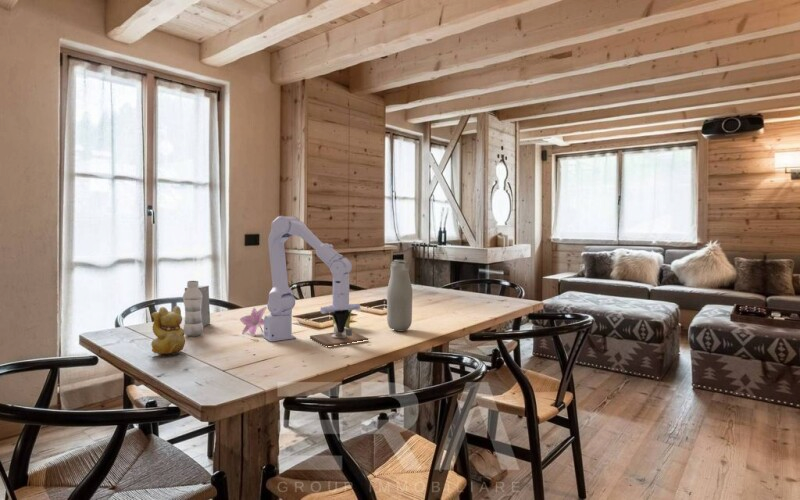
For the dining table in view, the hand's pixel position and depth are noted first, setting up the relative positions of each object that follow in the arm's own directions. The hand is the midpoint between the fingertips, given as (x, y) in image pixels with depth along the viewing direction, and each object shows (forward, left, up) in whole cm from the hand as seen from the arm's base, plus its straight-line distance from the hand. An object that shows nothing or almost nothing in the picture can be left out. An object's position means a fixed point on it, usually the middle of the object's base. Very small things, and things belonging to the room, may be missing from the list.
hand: (340, 332), depth 162 cm
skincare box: (-36, +54, -4) cm, 65 cm away
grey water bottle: (+28, +5, -4) cm, 29 cm away
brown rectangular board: (+1, +4, -4) cm, 6 cm away
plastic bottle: (-41, +37, -4) cm, 55 cm away
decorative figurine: (-52, +16, -4) cm, 54 cm away
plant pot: (+11, +21, -4) cm, 24 cm away
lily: (-21, +30, -4) cm, 36 cm away
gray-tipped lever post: (+2, +1, -1) cm, 2 cm away
